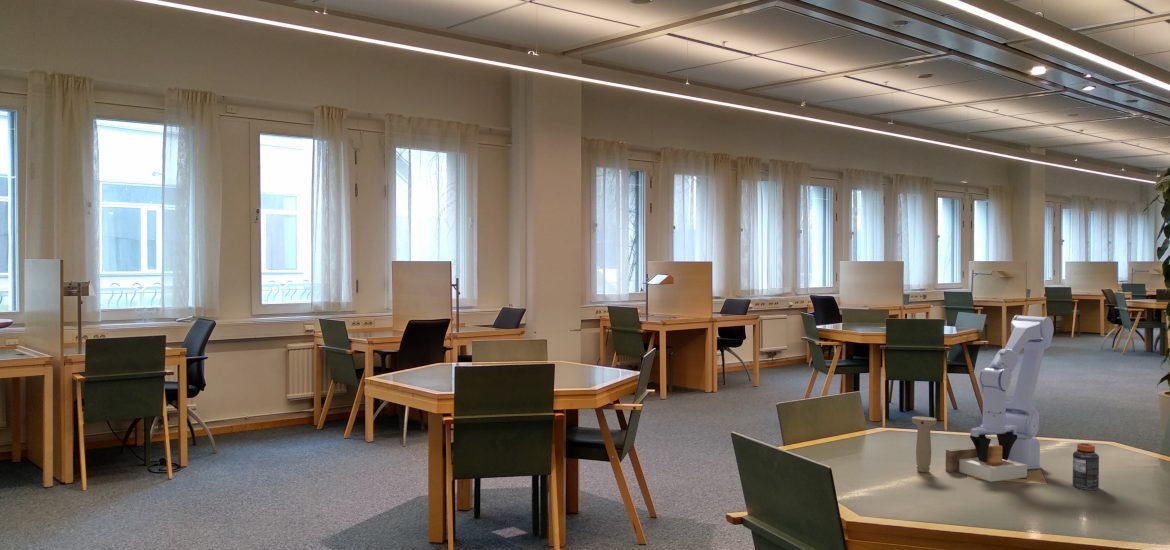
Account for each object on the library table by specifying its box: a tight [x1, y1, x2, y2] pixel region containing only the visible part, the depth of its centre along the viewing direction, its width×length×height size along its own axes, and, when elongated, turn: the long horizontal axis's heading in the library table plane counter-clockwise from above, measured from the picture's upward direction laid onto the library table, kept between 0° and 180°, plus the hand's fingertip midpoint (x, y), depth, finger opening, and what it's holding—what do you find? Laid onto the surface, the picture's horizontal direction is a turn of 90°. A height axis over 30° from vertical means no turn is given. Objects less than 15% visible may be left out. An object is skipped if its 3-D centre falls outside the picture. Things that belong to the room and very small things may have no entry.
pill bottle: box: [1072, 442, 1100, 491], centre depth 224 cm, size 6×6×11 cm
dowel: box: [984, 443, 1002, 466], centre depth 237 cm, size 4×4×8 cm
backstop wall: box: [945, 443, 999, 473], centre depth 243 cm, size 19×2×6 cm, turn 110°
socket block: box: [959, 457, 1028, 483], centre depth 237 cm, size 13×11×4 cm
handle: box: [911, 415, 937, 474], centre depth 240 cm, size 5×6×15 cm
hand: (993, 460), depth 237 cm, fingers open, 7 cm apart
